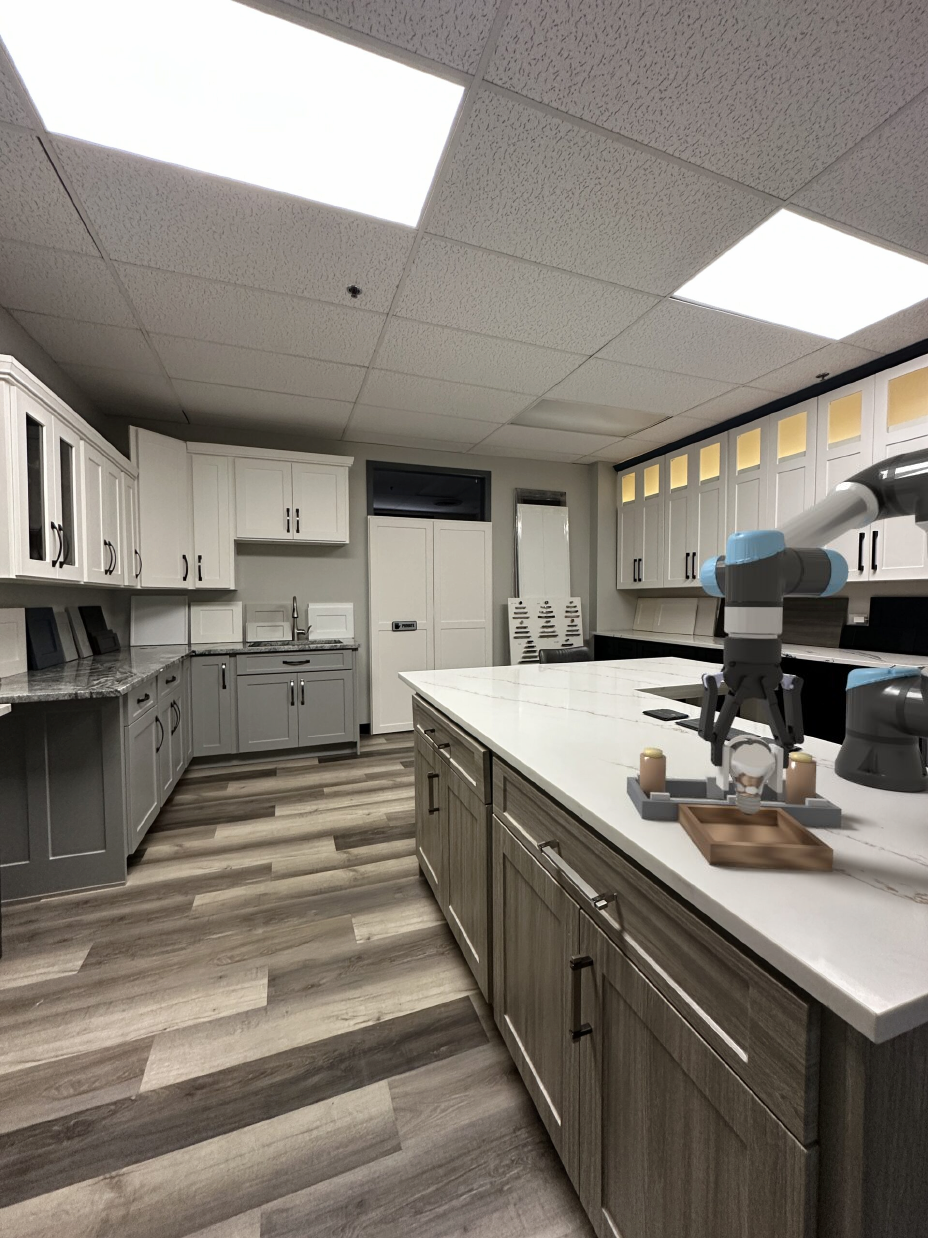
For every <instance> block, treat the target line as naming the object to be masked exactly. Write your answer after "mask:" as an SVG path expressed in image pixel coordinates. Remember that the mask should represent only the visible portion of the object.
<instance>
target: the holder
mask: <svg viewBox="0 0 928 1238" xmlns="http://www.w3.org/2000/svg"><path fill="white" fill-rule="evenodd" d="M785 787H786V777H785V778H783V784H782V793H777V792H775V791H774V790H773V789H771V788H770V787H769V786H768V781H767V782H766V783H765V785H764V789H763V793H762V795H761V796H760V798H761V800H760V801H777V802H785ZM626 794H627V796H628V797H629V799H630V801H631V802H632V804H633V806H634V807H635V809H636V811H637V812H638V814H639V816H640V817H641V819H642V820H662V821H663V820H664V821H667V820H668V821H678V804H695V805H720V806H737V805H736V802H737V801H736V798H737V797H736V794H737V792H736V791H735V789H734V784H733V780H732V779H731V780H730V779H729V791H728V790H722V789H721V788H720V787H719V786H718V785H717V784H716V775H705V779H704V778H703V779H699V778H696V779H695V778H670V777H669V778H667V777H666V793H657V792H650V799H648V798H647V797H646V795H645V794H644V792H643V791H642V790H641V789H640V772H638V773H636V776H626ZM671 797H678V798H681V797H684V798H703V799H704V798H705V799H710V800H691V799H690V800H689V799H671ZM711 799H713V800H711ZM714 799H716V800H717V799H718V801H715V800H714ZM724 799H726V801H719V800H724ZM760 806H761V807H770V808H781V809H782V810H783V811H785V812H786V813H787V814H789V815H790V816H791V817H792V818H794V819H795V820H796V821H797V822H799V823H800V824H801V825H803V826H804V827H805V826H806V827H827V828H829V827H830V828H842V811H843V808H841V807H839V806H838V805H836V804H834V803H833V802H831V801H830V800H828V799H826V798H825V797H823V796H822V795H820V794H818V793H817V792H816V798H806V800H805V805H796V804H785V803H768V802H767V803H766V802H761V804H760Z"/></svg>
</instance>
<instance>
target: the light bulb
mask: <svg viewBox="0 0 928 1238" xmlns="http://www.w3.org/2000/svg"><path fill="white" fill-rule="evenodd" d="M726 745H727V746H729V747H730V751H729V777H731V780H732V781H733V784H734V789H735V791H736V792H737V794H736V797H737V798H736V801H737V802H736V805H737V807H738V808H739V809H740V810H741V811H742V812H743V813H744V814H745V815H753V814H754V813H756V812H757V811H759V809H760V808H761V806H760V804H761V803H762V800H761V798H760V796H761V795H762V793H763V789H764V785H765V783H766V782H768V779H769V778H770V777H771V775H772V774H773V772H774V770H775V766H776V759H775V755H774V752H773V750H772V749H771V747H770V746H769V744H768V743H767V742H766V741H765V740H764V739H762V738H760V737H759V736H755V735H751V734H742V735H741V734H740V735H738V736H735V737H733V738H731V739H730V740H729V741H728V742H727V743H726Z"/></svg>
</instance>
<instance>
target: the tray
mask: <svg viewBox="0 0 928 1238" xmlns="http://www.w3.org/2000/svg"><path fill="white" fill-rule="evenodd" d="M677 822H678V823H679V825H680V827H682V829H683V830H684V832H685V833H686V834H687V836H688V837H689V838H690V840H691V841H692V842H693V844H694V845H695V846H696V849H697V850H698V851H699V852H700V854H701V855H702V856H703V857H704V860H706V861H707V864H709V866H721V867H737V868H738V867H739V868H740V867H742V868H746V867H747V868H760V869H761V868H763V869H777V870H778V869H780V870H783V869H784V870H797V871H798V870H799V871H800V870H803V871H815V872H816V871H817V872H818V871H819V872H834V849H833V848H832V847H831V846H829V845H828V844H827V843H826V842H824V841H823V840H822V839H821V838H819V836H817V835H815V834H814V833H813V832H812V831H810V829H809V828H806V827H805V826H803V825H801V824H800V823H799V822H797V821H796V820H795V819H794V818H792V817H791V816H790V815H789V814H787V813H786V812H785V811H783V810H782V809H781V808H770V807H761V808H760V809H759V811H757V812H756V813H754V814H753V815H745V814H744V813H743V812H742V811H741V810H740V809H739V808H738V807H737V806H720V805H695V804H678V820H677Z"/></svg>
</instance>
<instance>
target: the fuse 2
mask: <svg viewBox="0 0 928 1238" xmlns="http://www.w3.org/2000/svg"><path fill="white" fill-rule="evenodd" d="M785 778H786V787H785V801H784V804H796V805H805V800H806V798H816V793H817V791H816V790H817V761H815V760H814V759H813V755H812V754H809V753H806V752H801V751H800V752H799V751H791V752H789V766H788V768H787V769H785Z"/></svg>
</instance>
